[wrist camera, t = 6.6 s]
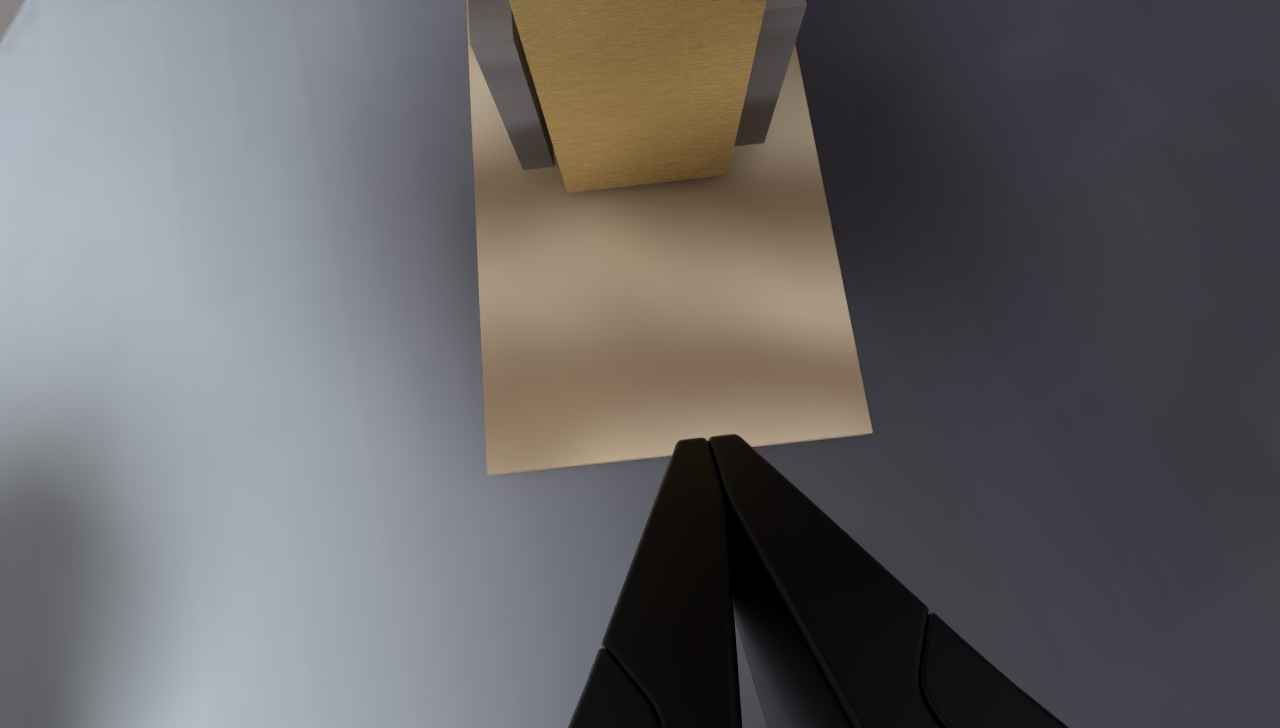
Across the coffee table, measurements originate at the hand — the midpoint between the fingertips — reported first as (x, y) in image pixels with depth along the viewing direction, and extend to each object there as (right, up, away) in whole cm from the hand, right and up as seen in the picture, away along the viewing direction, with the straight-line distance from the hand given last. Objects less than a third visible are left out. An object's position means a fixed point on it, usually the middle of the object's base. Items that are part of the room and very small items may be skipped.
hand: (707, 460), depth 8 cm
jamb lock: (-1, +7, +11) cm, 12 cm away
